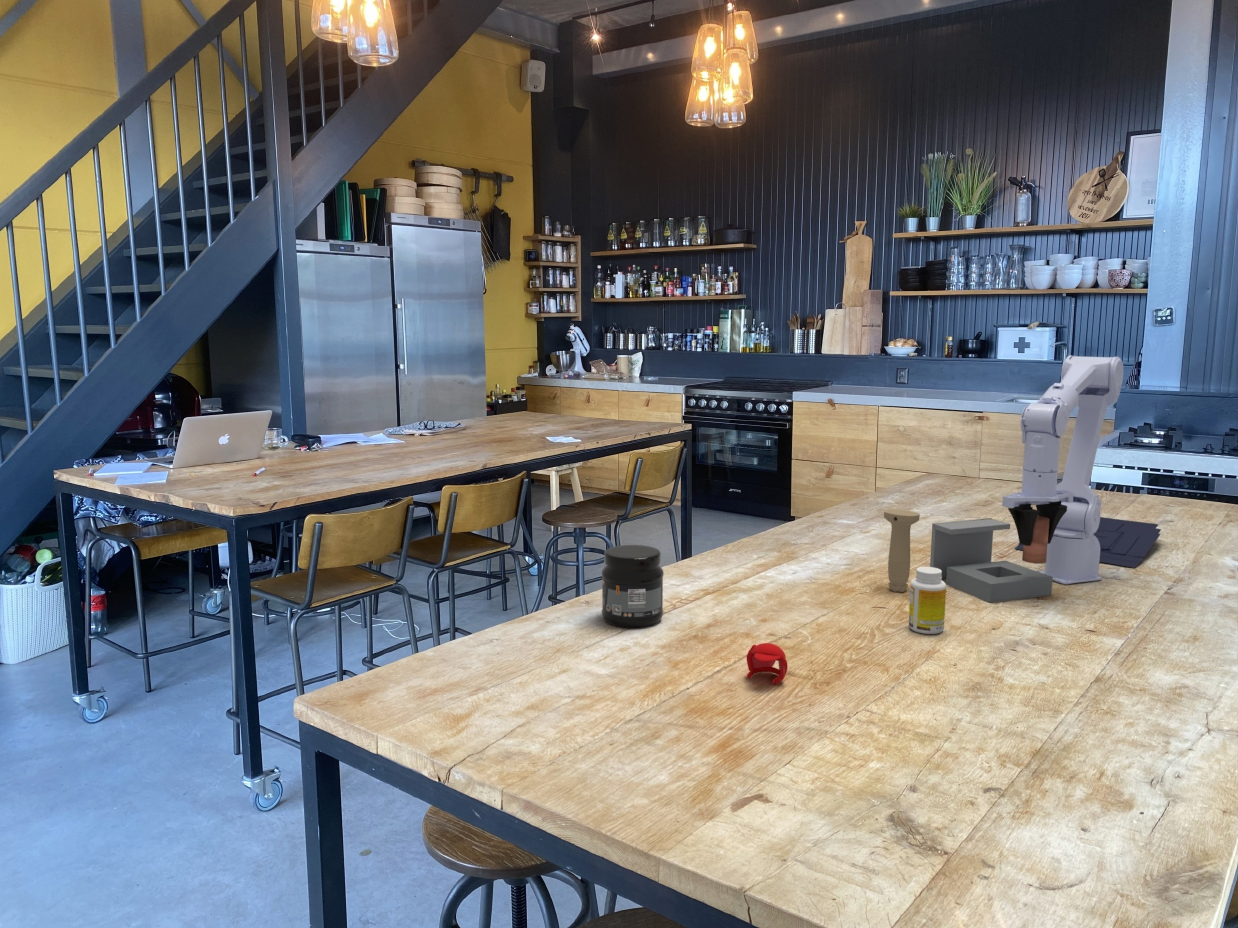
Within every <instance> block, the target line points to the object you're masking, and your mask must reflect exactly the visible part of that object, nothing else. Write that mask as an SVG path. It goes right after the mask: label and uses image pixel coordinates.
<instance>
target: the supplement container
mask: <svg viewBox="0 0 1238 928" xmlns="http://www.w3.org/2000/svg"><path fill="white" fill-rule="evenodd" d="M661 554H662V553H661V551H660V549H658V548H656V547H653V546H649V545H643V544H642V545H641V544H622V545H615V546H612V547H608V548H607V549H606V550H605V551H604V555H603V556H604V564H605V566H603V568H602V570H601V574H600V575H601V579H602V580H601V582H602V583H601V586H602V589H601V591H602V593H601V594H602V596H601V597H602V601H601V602H602V606H601V607H602V609H601V616H602V618H603V620H605V621H606V622H607V623H608V624H611V625H612V626H616V627H620V628H626V629H627V628H628V629H629V628H630V629H636V628H646V627H650V626H653V625H655V624H657V623H659V622H660V620H661V619H662V618H663V616H664V615H663V614H664V609H663V608H664V606H663V603H664V601H663V598H664V597H663V596H664V595H663V591H664V590H663V588H664V586H663V585H664V581H663V580H664V576H665V575H664V569H663V568H662V567H661V565H660V564H661V560H662V558H661V557H662V556H661Z"/></svg>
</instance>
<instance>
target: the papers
mask: <svg viewBox="0 0 1238 928" xmlns="http://www.w3.org/2000/svg"><path fill="white" fill-rule="evenodd" d="M1158 526H1159V524H1157V523H1151V522H1145V521H1144V522H1141V521H1135V520H1128V519H1127V520H1126V519H1118V518H1110V517H1105V516H1104V517H1101V516H1100V523H1099V527H1098V529H1097V531H1096V532H1095V533H1094V534H1093V535H1094V536H1095V537H1096V538H1097V539H1098V541H1099V544H1100V559H1099V563H1105V564H1111V565H1116V566H1122V567H1128V568H1133V569H1135V568H1136V567H1138V566H1137V565H1138V564H1139V563H1141V562H1142V561H1143V560H1144V558H1145V556H1146V554H1147V553H1148V552H1149V551H1150V549H1151V547H1153V545H1154V544H1155V543H1156V541H1157V540H1158V539H1159V537H1160V535H1161V533H1160V532H1162V529H1161V528H1157V527H1158ZM1014 550H1018V551H1019V550H1020V551H1021V550H1022V551H1023V544H1020V543H1019V542H1018V544H1017V546H1016V547H1014Z"/></svg>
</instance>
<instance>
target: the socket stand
mask: <svg viewBox="0 0 1238 928" xmlns="http://www.w3.org/2000/svg"><path fill="white" fill-rule="evenodd" d="M931 525H932V526H931V538H930V539H931V543H930V556H929V557H930V561H929V567H934V568H938V569H940V570H941V571H942V579H946V580H945V584H946V586H949V587H951V588H953V589H956V590H958V591H961V592H963V593H965V594H968V595H970V596H972V597H975V598H978V599H979V600H982V601H985V602H987V603H989V604H990V603H991V604H992V603H1000V602H1006V601H1007V602H1008V601H1015V600H1023V599H1032V598H1037V597H1046V596H1047V597H1048V596H1052V594H1053V593H1052V591H1053V577H1052V576H1049V575H1046V574H1043V573H1040V572H1037V571H1038V570H1034V569H1032V568H1029V567H1025V566H1023V565H1020V564H1017V563H1014V562H1011V561H1008V560H1000V561H999V560H997V561H992V556H993V555H992V553H993V539H994V531H1003V530H1010V529H1011V523H1009V522H1006V521H1002V520H998V519H995V518H991V517H989V518H988V517H987V518H976V519H967V520H965V519H964V520H955V521H944V522H935V523H934V522H932V524H931Z"/></svg>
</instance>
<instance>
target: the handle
mask: <svg viewBox="0 0 1238 928" xmlns="http://www.w3.org/2000/svg"><path fill="white" fill-rule="evenodd" d="M883 518H884V520H886V521H887V522H889V523H890V524H891V531H890V533H891V534H890V543H889V552H888V561H887V571H888V573H887V574H888V575H887V576H888V581H889V582H888V588H889V590H890V591H892V592H895V593H896V592H898V593H904V592H906V591H907V590H908V584H909V583H908V582H909V578H910V573H911V572H910V571H911V526H912V525H913V524H916V523H918V522H919V521H920V518H921V517H920V513H919V512H916V511H912V510H905V509H898V508H897V509H895V508H891V509H885V510H883Z"/></svg>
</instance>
